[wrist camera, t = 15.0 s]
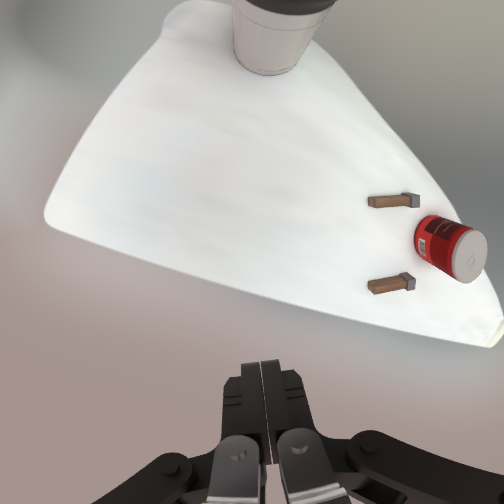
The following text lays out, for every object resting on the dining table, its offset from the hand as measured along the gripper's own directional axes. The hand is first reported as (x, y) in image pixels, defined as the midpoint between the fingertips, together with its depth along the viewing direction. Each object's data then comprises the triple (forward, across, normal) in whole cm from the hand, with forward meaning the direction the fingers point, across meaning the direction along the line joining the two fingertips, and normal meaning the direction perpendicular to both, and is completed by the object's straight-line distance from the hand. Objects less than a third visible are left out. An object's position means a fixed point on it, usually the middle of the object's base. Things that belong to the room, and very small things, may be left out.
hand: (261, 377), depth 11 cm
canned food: (+29, -30, +5) cm, 42 cm away
